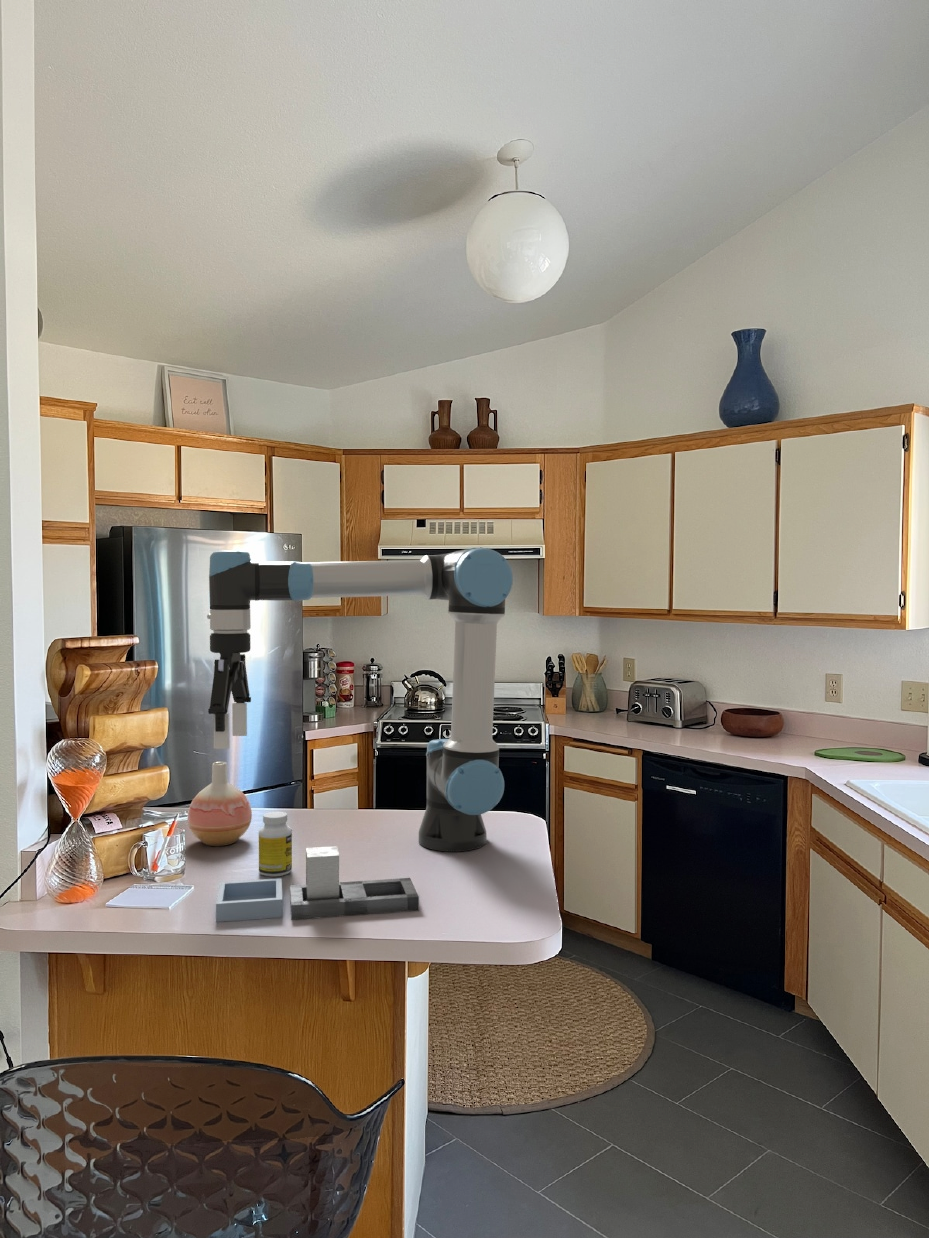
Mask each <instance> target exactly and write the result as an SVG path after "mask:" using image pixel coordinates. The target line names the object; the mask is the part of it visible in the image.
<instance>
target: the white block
mask: <svg viewBox="0 0 929 1238" xmlns="http://www.w3.org/2000/svg"><path fill="white" fill-rule="evenodd" d="M339 882H340V852H339V849H338V846H337V845H334V846H331V845H330V846H318V847H317V846H316V847H315V846H313V847H306V848H305V885H306V901H317V900H331V899H339Z"/></svg>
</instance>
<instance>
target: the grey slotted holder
mask: <svg viewBox="0 0 929 1238" xmlns="http://www.w3.org/2000/svg"><path fill="white" fill-rule="evenodd" d="M289 889H290V891H289V893H290V894H289V895H290V897H289V899H290V900H289V903H290V904H289V905H290V915H291V916H290V917H291V918H290V919H291V920H292V921H295V920H304V919H305V920H308V919H320V918H322V919H323V918H333V917H334V918H335V917H348V916H349V917H350V916H362V915H373V914H374V915H375V914H377V915H378V914H387V913H389V914H390V913H402V912H405V913H406V912H417V911H419V910H420V909H419V908H420V907H419V903H420V899H419V898H420V896H419V895H418V892H417V890H416V888H415V886H414V884H413V881H412V879H411V877H404V878H403V877H402V878H385V879H370V880H358V881H356V880H355V881H344V882H343V881H341V882H340V881H339V899H331V900H317V901H306V884H294V885H290V886H289Z"/></svg>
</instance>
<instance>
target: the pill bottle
mask: <svg viewBox="0 0 929 1238" xmlns="http://www.w3.org/2000/svg"><path fill="white" fill-rule="evenodd" d="M287 822H288V813H286V812H285V811H284V812H283V811H269V812H266V813H264V814H263V815H262V823H264V825H263V826H262V827H260V828H259V830H258V873H260V875H261V876H265V877H269V878H270V877H271V878H273V877H274V878H277V877H283V876H286V875H289V874H290V873H291V872H292V869H293V863H292V862H293V850H292V849H293V832H292V831H293V830H292V828H291V827H290V826H289V825H288V824H287Z"/></svg>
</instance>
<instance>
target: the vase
mask: <svg viewBox="0 0 929 1238" xmlns="http://www.w3.org/2000/svg"><path fill="white" fill-rule="evenodd" d="M211 771H212V772H211V774H212V775H211V783H210V784H207V786H205V787H204V788H203V789H202V790H200V791H199V792H198V793H197V794H196V795H195V797H193V799H192V801H191V803H190V804H189V808H188V811H187V825H188V829H189V831H190V833H192V835H193V836H194V837H195V838H197V839H198V840H199V841H200V842H201V843H202V844H204V845H206V846H210V847H211V846H212V847H224V846H228V845H231V844H234V843H236V842H237V841H238V840H239V839H240V838H241V837H242V836H244V835H245V833H246V832H247V830H248V829H249V827H250V825H251V823H252V820H253V819H252V816H253V814H252V807H251V803H250V801H249V799H248V797H247V795H245V793H244V792H242V790H241V789H239V788H238V787H236V786H235V785H234V784H232V783H231V782H229V781H228V764H227V762H226V761H216V762H213V763H212V768H211Z"/></svg>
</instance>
